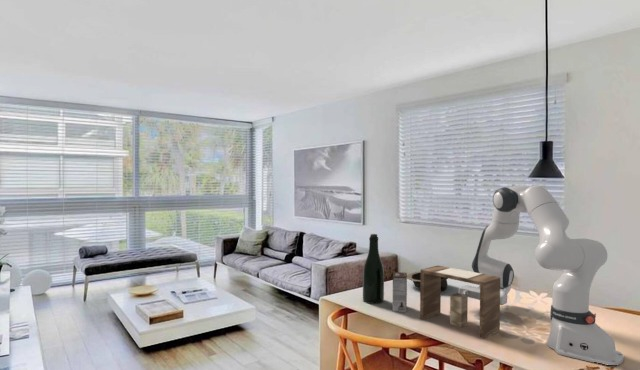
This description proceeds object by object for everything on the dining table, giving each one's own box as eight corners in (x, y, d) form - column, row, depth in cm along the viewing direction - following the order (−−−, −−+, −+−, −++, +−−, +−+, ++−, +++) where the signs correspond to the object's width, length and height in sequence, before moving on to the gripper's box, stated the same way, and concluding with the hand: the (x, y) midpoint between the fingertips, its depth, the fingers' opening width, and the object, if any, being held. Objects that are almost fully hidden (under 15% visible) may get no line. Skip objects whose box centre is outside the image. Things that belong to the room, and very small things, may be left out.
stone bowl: (462, 288, 217) (461, 272, 217) (431, 299, 203) (431, 282, 203) (426, 278, 238) (426, 263, 237) (396, 288, 224) (396, 271, 223)
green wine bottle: (360, 302, 192) (361, 235, 191) (364, 296, 202) (364, 232, 201) (382, 304, 189) (383, 235, 189) (385, 298, 199) (385, 233, 199)
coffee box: (392, 305, 189) (393, 271, 188) (406, 306, 187) (406, 272, 187) (392, 311, 180) (392, 276, 179) (406, 312, 178) (407, 277, 178)
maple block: (467, 324, 164) (467, 295, 164) (461, 327, 161) (461, 297, 161) (456, 321, 168) (456, 292, 168) (449, 323, 165) (450, 295, 164)
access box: (499, 329, 158) (500, 276, 158) (483, 338, 149) (484, 282, 149) (437, 311, 179) (437, 264, 179) (420, 318, 170) (420, 269, 170)
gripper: (467, 280, 190) (451, 285, 181) (510, 290, 174) (496, 296, 165) (466, 293, 190) (451, 299, 181) (510, 304, 175) (496, 311, 165)
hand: (473, 298), depth 173 cm, fingers open, 8 cm apart
